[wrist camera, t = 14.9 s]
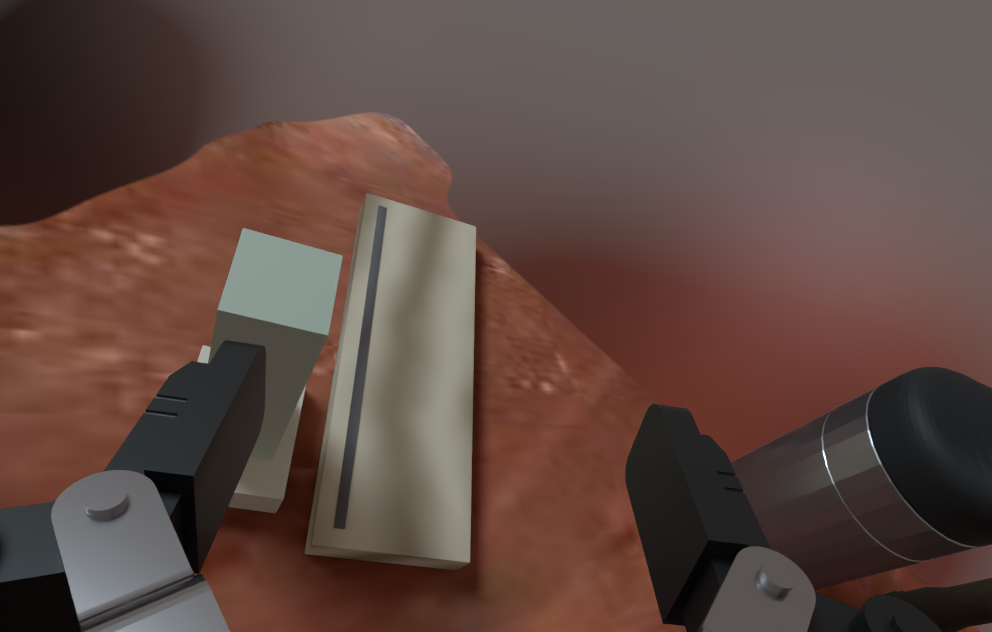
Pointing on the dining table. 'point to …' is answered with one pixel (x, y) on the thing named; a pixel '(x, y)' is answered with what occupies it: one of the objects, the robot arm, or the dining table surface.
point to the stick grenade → (953, 604)
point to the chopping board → (401, 396)
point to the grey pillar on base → (276, 345)
